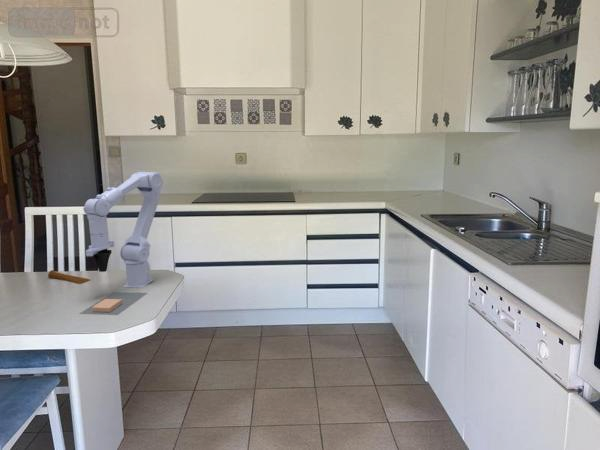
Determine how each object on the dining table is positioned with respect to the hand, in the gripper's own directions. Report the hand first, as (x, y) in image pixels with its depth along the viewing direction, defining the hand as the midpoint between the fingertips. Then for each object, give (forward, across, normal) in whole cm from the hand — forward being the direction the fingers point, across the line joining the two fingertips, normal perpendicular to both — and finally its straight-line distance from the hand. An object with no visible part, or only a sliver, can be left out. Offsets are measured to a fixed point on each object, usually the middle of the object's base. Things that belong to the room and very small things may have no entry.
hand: (102, 271), depth 159 cm
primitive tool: (+10, -19, -26) cm, 34 cm away
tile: (+8, +7, +8) cm, 13 cm away
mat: (+9, +6, +8) cm, 14 cm away
